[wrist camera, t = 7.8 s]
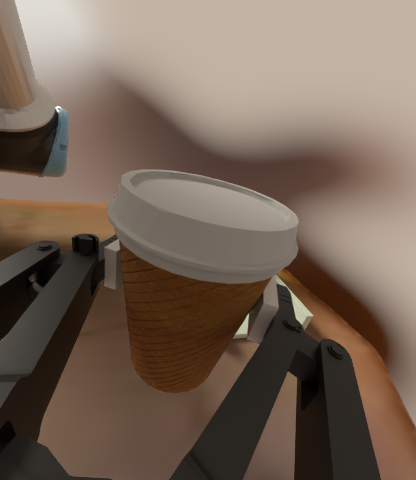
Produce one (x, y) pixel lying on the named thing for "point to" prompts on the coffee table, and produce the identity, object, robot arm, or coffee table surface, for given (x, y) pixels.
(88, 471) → the coffee table surface
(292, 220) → the disposable coffee cup
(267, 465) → the coffee table surface
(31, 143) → the robot arm
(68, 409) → the coffee table surface
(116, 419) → the coffee table surface
